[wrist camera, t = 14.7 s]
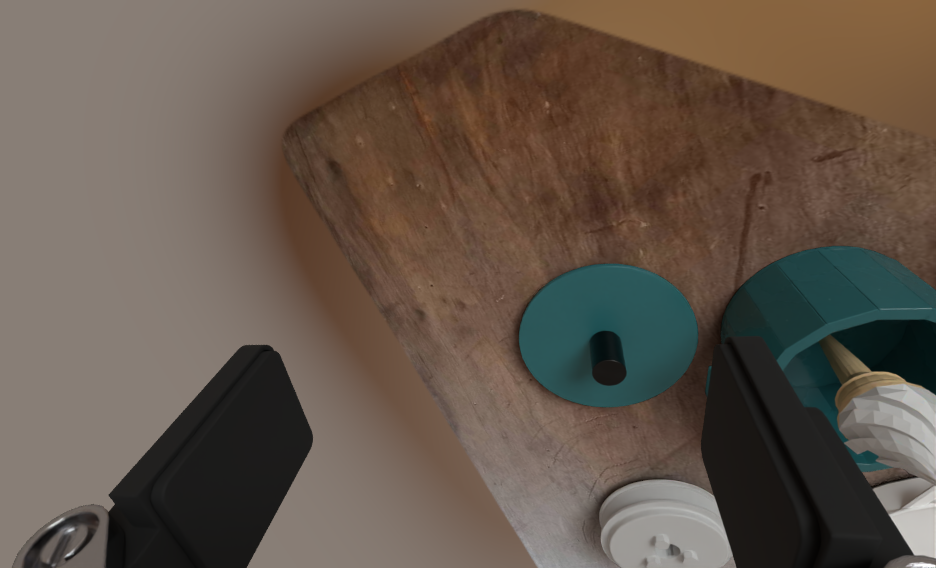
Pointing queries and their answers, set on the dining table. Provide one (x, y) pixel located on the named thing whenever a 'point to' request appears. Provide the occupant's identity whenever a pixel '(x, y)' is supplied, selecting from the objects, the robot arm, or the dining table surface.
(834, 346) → the ice cream cone
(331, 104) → the dining table surface
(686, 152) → the dining table surface
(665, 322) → the pot lid
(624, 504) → the lid
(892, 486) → the pan
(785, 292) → the pot
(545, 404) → the dining table surface
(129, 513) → the robot arm
